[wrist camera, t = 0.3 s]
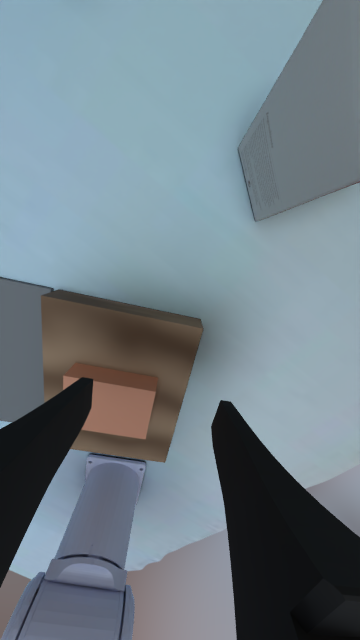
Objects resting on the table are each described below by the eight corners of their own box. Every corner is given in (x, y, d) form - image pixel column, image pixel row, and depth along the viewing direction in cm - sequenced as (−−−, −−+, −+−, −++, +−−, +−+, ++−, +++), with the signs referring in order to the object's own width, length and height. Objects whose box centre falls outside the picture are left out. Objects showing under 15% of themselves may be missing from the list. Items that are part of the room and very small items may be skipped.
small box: (253, 223, 16) (369, 180, 6) (235, 147, 14) (359, -78, 5) (350, 182, 15) (668, 56, 5) (344, 94, 13) (808, -341, 4)
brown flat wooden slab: (166, 442, 25) (165, 462, 23) (58, 426, 24) (45, 445, 22) (200, 319, 19) (203, 328, 17) (58, 289, 18) (40, 295, 16)
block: (148, 422, 21) (145, 439, 19) (73, 410, 20) (62, 426, 18) (158, 377, 19) (155, 391, 17) (75, 362, 18) (63, 375, 16)
